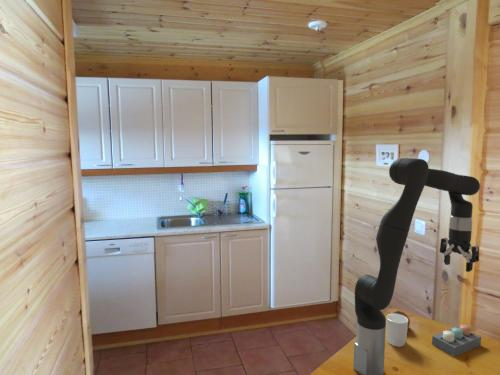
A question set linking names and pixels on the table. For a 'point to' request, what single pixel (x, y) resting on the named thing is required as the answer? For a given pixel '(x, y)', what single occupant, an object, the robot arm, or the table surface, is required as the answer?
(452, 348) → the button panel
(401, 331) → the white cup
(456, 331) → the teal button
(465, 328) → the pink cube
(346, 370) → the table surface
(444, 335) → the ivory button
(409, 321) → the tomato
